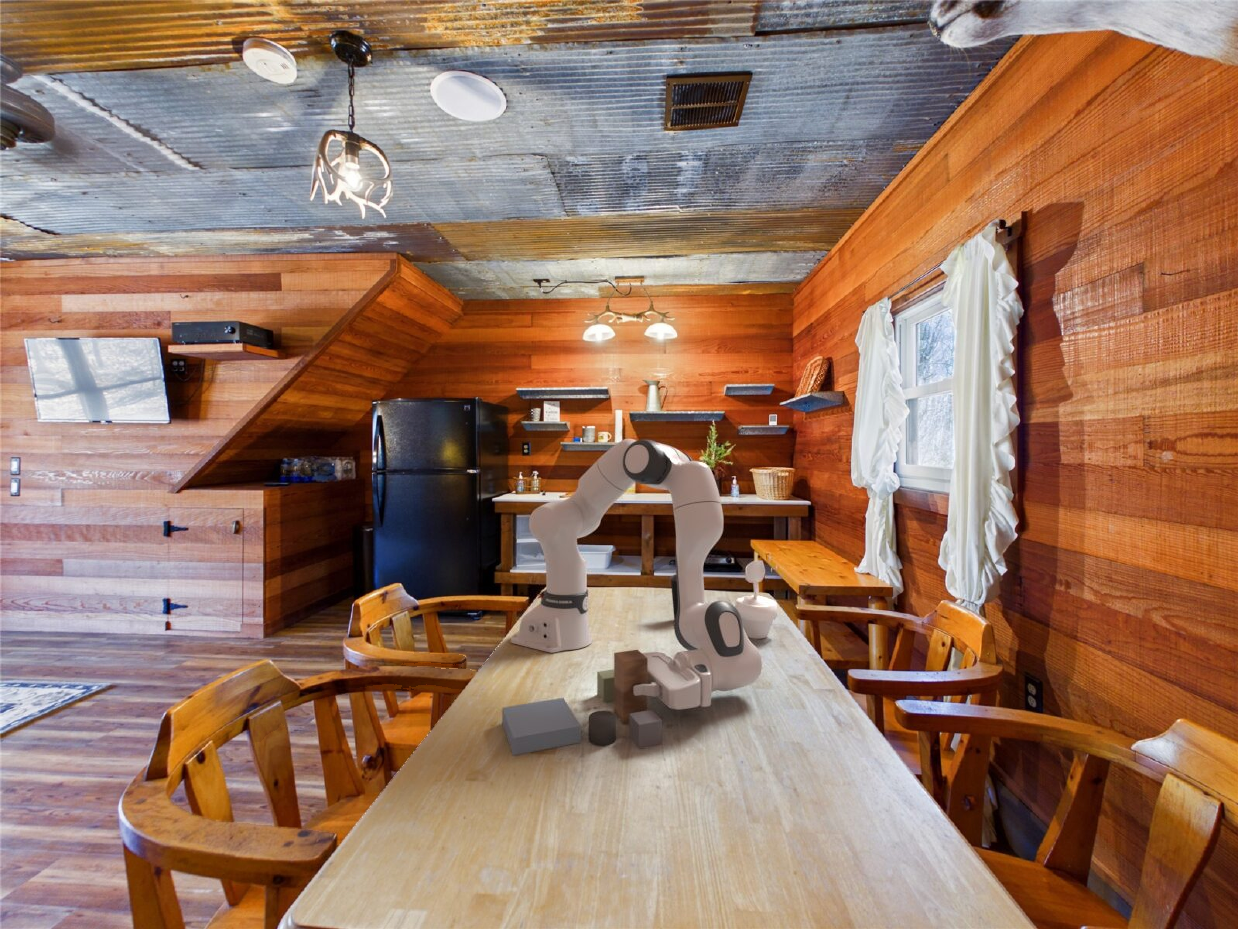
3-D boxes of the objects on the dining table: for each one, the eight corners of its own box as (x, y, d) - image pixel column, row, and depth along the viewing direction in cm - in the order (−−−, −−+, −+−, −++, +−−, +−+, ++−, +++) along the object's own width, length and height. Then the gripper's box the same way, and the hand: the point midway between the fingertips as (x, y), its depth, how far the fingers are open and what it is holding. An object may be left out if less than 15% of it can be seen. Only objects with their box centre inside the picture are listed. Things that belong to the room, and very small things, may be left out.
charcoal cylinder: (583, 743, 97) (583, 721, 96) (595, 730, 101) (595, 708, 101) (609, 748, 95) (610, 726, 95) (620, 735, 99) (620, 713, 99)
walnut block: (623, 724, 103) (623, 661, 103) (614, 712, 108) (614, 652, 108) (647, 719, 105) (647, 658, 105) (637, 708, 110) (637, 649, 110)
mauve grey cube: (638, 750, 94) (639, 725, 94) (629, 737, 98) (629, 713, 98) (661, 745, 96) (661, 720, 96) (651, 733, 100) (651, 709, 100)
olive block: (603, 703, 112) (603, 679, 112) (597, 695, 116) (597, 671, 116) (621, 699, 114) (621, 676, 114) (614, 692, 118) (614, 669, 117)
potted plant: (778, 644, 148) (779, 552, 148) (735, 641, 150) (735, 551, 150) (775, 629, 160) (775, 545, 160) (734, 627, 163) (735, 544, 162)
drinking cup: (665, 622, 167) (666, 558, 166) (675, 616, 173) (675, 554, 173) (689, 626, 163) (689, 560, 163) (697, 619, 170) (698, 556, 170)
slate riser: (513, 755, 92) (513, 738, 92) (502, 723, 103) (502, 707, 103) (580, 742, 97) (580, 725, 97) (563, 712, 108) (563, 697, 108)
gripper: (666, 642, 121) (608, 649, 116) (714, 677, 102) (647, 687, 97) (666, 670, 121) (608, 679, 116) (714, 710, 102) (647, 723, 97)
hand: (626, 683), depth 106 cm, fingers closed on walnut block, 5 cm apart
